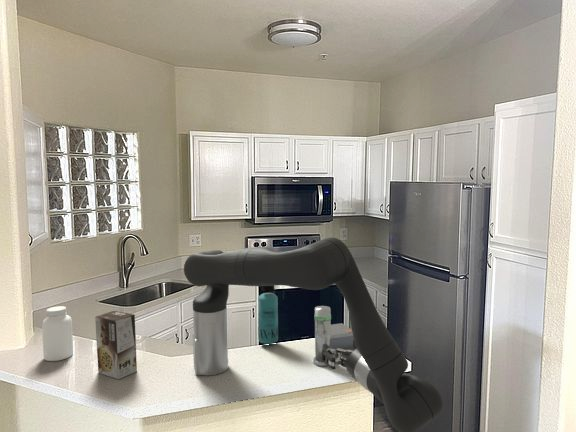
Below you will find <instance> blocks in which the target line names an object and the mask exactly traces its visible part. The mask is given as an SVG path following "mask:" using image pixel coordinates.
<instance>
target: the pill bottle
mask: <svg viewBox="0 0 576 432" xmlns="http://www.w3.org/2000/svg"><path fill="white" fill-rule="evenodd" d="M45 313H46V317H45V318H44V319H43V321H42V322H41V323H42V324H41V327H42V328H41V329H42V352H43V354H42V355H43V359H44V360H45V361H46V362H47V361H48V362H58V361H62V360H65V359H68V358H70V357H71V356H73V354H74V341H73V320H72V319H73V318H72V317H71V315H68V312H67V307H66V306H62V305H61V306H60V305H58V306H52V307H49V308H47V309H46V311H45Z"/></svg>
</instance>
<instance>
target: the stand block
mask: <svg viewBox="0 0 576 432" xmlns="http://www.w3.org/2000/svg"><path fill="white" fill-rule="evenodd" d="M353 340H354V337H353V333H352V328H350V327H348V326H347V325H345V324H344V323H334V324H331V349H335V350H336V349H338V348H340V349H344V350H353V349H354V348H353ZM334 355H335V354H334V353H332V356H334Z"/></svg>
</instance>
